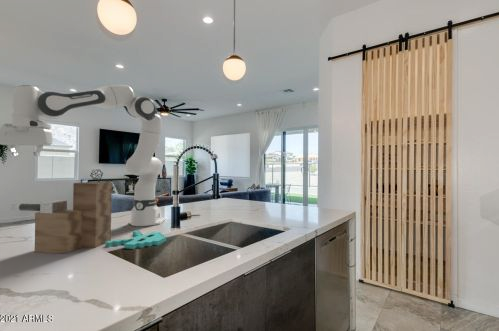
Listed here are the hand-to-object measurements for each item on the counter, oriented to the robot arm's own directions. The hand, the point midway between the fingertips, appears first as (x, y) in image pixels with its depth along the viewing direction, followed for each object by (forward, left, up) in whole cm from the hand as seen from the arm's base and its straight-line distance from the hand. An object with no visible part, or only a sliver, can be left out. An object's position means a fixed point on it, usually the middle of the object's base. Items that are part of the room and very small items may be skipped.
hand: (25, 156), depth 111 cm
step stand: (+1, +24, -37) cm, 44 cm away
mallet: (+7, +14, -22) cm, 27 cm away
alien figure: (-9, +48, -38) cm, 62 cm away
